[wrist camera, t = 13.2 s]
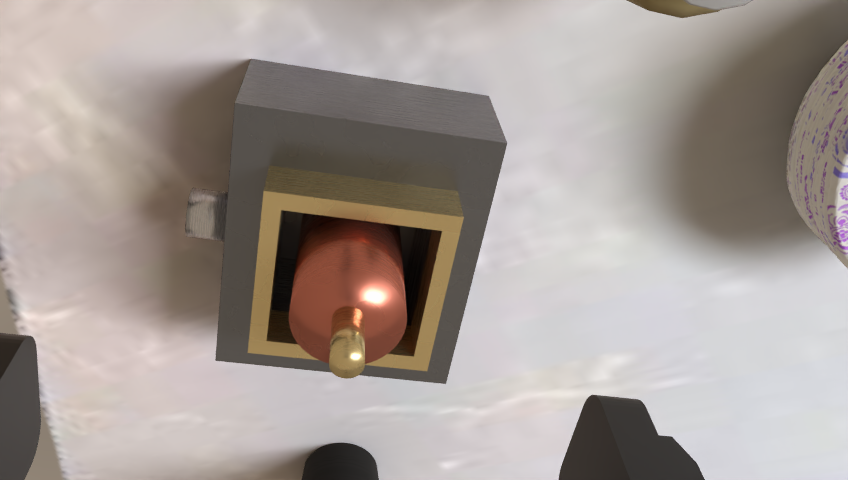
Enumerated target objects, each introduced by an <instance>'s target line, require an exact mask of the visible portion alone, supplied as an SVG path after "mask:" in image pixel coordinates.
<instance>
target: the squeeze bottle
mask: <svg viewBox="0 0 848 480" xmlns="http://www.w3.org/2000/svg"><path fill="white" fill-rule="evenodd" d="M627 1H629V2H632V3H634V4H636V5H638V6H640V7H642V8H644V9H647V10H649V11H653V12H658V13H662V14H666V15H671V16H675V17H680V18H685V17H691V16H696V15H702V14H707V13H712V12H718V11H720V10H722V9H727V8H732V7H738V6H743V5H745V4H747V3H749V2H751V1H752V0H627Z"/></svg>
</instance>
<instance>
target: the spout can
mask: <svg viewBox="0 0 848 480" xmlns="http://www.w3.org/2000/svg"><path fill="white" fill-rule="evenodd" d="M406 324H407V310H406V297H405V285H404V272H403V259H402V247H401V234H400V225H393V224H385V223H377V222H369V221H362V220H354V219H346V218H338V217H331V216H323V215H315V214H308V213H303V215H302V222H301V230H300V237H299V244H298V252H297V259H296V266H295V274H294V281H293V288H292V295H291V303H290V310H289V325H290V329H291V332H292V335H293V337H294V339H295V340H296V342H297V343H298V344H299V346H300V347H301V348H302V349H303V350H304V351H306V352H307V353H308V354H309V355H311V356H312V357H314V358H316V359H318V360H320V361H323V362H325V363H329V367H330V370H331V371H332V373H333V374H335V375H336V376H338V377H341V378H353V377H356V376H358V375H359V374H360V373H361V372H362V371H363V370H364V367H365V364H367V363H371V362H373V361H376V360H378V359H380V358H382V357H384V356H385V355H386V354H388V353H389V352H390V351H392V350H393V349H394V348H395V347H396V345H397V344H398V343H399V341H400V340H401V338H402V336H403V334H404V332H405V329H406Z"/></svg>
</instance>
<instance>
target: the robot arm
mask: <svg viewBox="0 0 848 480" xmlns="http://www.w3.org/2000/svg"><path fill="white" fill-rule="evenodd" d="M40 425H41V415H40V398H39V382H38V365H37V350H36V343H35V340H34V338H33V337H32V336H25V335H16V334H6V333H0V480H24V479H25V477H26V475H27V473H28V471H29V468H30V467H31V464H32V462H33V459H34V456H35V453H36V449H37V445H38V440H39V435H40ZM559 480H705V479H704V477H703V475H702V473H701V471H700V469H699V467H698V465H697V463H696V462H695V461H694V460H693V459H692V458H691V457H690V455H689V454H688V453H687V452H686V451H685V450H684V449H683V448H682V447H681V446H680V445H679V444H678V443H677V442H676V441H675V440H674V439H673V437H669V436H659V435H658V433H657V431H656V429H655V427H654V424H653V422H652V420H651V418H650V415H649V413H648V411H647V409H646V407H645V405H644V404H643V402H642V401H640V400H638V399H629V398H619V397H609V396H599V395H591V396H589V397H588V399H587V400H586V402H585V404H584V406H583V409H582V411H581V414H580V417H579V420H578V422H577V425H576V428H575V430H574V433H573V436H572V439H571V441H570V444H569V447H568V449H567V452H566V455H565V458H564V460H563V463H562V466H561V470H560V475H559Z"/></svg>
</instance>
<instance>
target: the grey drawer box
mask: <svg viewBox="0 0 848 480" xmlns="http://www.w3.org/2000/svg"><path fill="white" fill-rule="evenodd" d="M506 146H507V141H506V139H505V136H504V134H503V131H502V129H501V126H500V123H499V121H498V118H497V116H496V113H495V111H494V108H493V105H492V103H491V100H490V98H489V96H485V95H478V94H472V93H466V92H459V91H453V90H447V89H440V88H434V87H427V86H421V85H415V84H408V83H402V82H395V81H389V80H383V79H376V78H370V77H363V76H357V75H351V74H344V73H338V72H331V71H325V70H319V69H312V68H306V67H300V66H293V65H287V64H280V63H274V62H268V61H261V60H255V59H251V61H250V63H249V66H248V69H247V71H246V74H245V77H244V79H243V82H242V85H241V88H240V90H239V93H238V96H237V98H236V101H235V107H234V120H233V134H232V147H231V160H230V174H229V187H228V193H227V192H220V191H212V190H204V189H197V188H192V190H191V193H190V196H189V201H188V206H187V213H186V226H185V230H186V236H187V237H194V238H202V239H211V240H219V241H224V254H223V267H222V281H221V294H220V307H219V321H218V334H217V347H216V361H225V362H235V363H245V364H255V365H264V366H274V367H284V368H294V369H304V370H314V371H324V372H332V371H331V370H330V367H329V363H325V362H323V361H320V360H318V359H316V358H314V357H312V356H311V355H309V354H308V353H307V352H306V351H304V350H303V349H302V348H301V347H300V346H299V344H298V343H297V342H296V340H295V339H294V337H293V335H292V332H291V329H290V325H289V310H290V303H291V295H292V288H293V281H294V274H295V266H296V259H297V252H298V244H299V237H300V230H301V222H302V215H303V213H308V214H315V215H323V216H331V217H338V218H346V219H354V220H362V221H369V222H377V223H385V224H393V225H400V234H401V247H402V259H403V272H404V285H405V297H406V310H407V324H406V329H405V332H404V334H403V336H402V338H401V340H400V341H399V343H398V344H397V345H396V347H395V348H394V349H393V350H392V351H390V352H389V353H388V354H386V355H385V356H384V357H382V358H380V359H378V360H376V361H373V362H371V363H367V364H365V367H364V370H363V371H362V372H361V373H360V374H359V375H364V376H374V377H383V378H393V379H403V380H413V381H423V382H433V383H443V384H446V381H447V377H448V373H449V369H450V365H451V361H452V357H453V354H454V350H455V346H456V342H457V338H458V334H459V330H460V326H461V322H462V318H463V314H464V310H465V307H466V303H467V299H468V295H469V291H470V287H471V283H472V279H473V275H474V271H475V267H476V263H477V259H478V256H479V252H480V248H481V244H482V240H483V236H484V232H485V228H486V224H487V220H488V216H489V212H490V208H491V205H492V201H493V197H494V193H495V189H496V185H497V181H498V177H499V173H500V169H501V165H502V161H503V158H504V154H505V150H506Z"/></svg>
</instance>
